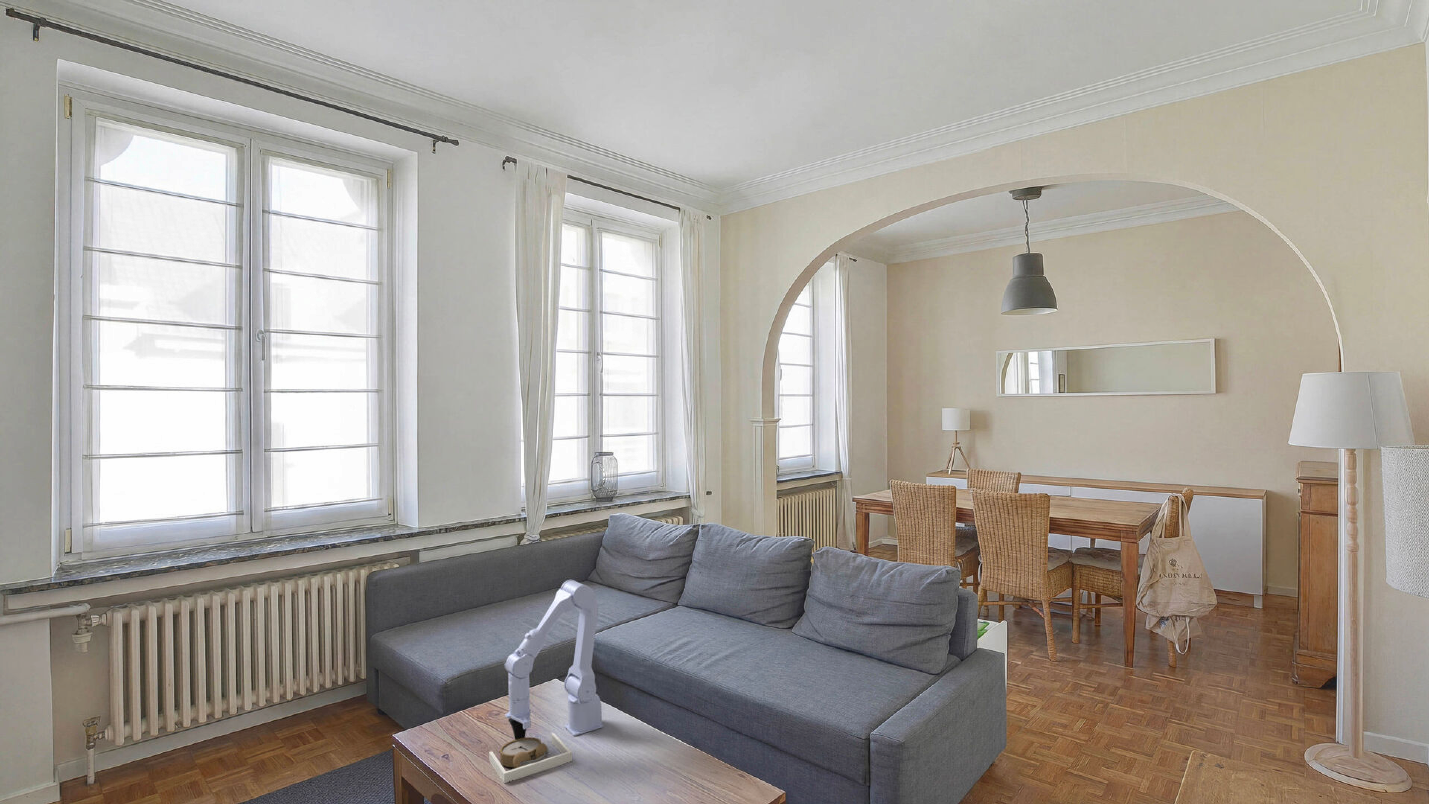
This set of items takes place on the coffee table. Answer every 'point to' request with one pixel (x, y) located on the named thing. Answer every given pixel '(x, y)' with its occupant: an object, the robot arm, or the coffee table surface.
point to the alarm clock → (522, 752)
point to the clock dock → (535, 766)
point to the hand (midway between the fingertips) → (520, 743)
